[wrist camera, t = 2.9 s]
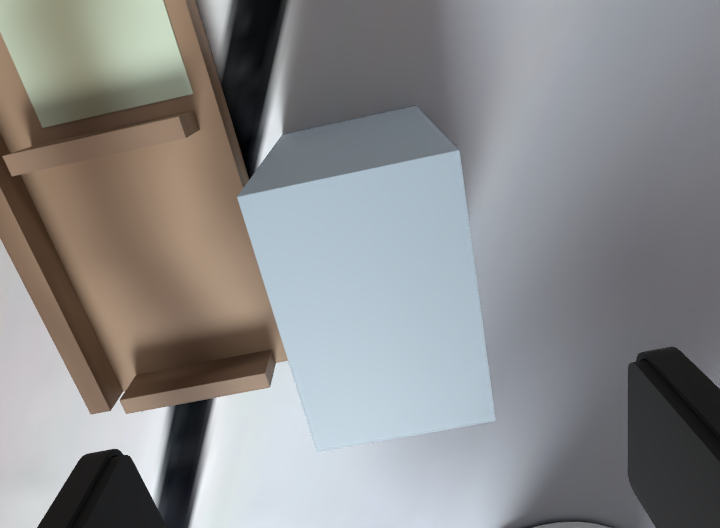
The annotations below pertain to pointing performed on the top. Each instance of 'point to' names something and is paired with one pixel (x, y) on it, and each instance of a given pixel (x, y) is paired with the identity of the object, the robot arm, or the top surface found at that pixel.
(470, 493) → the top surface
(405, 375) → the blue-grey rectangular block
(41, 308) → the brown wooden shallow tray
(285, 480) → the top surface
